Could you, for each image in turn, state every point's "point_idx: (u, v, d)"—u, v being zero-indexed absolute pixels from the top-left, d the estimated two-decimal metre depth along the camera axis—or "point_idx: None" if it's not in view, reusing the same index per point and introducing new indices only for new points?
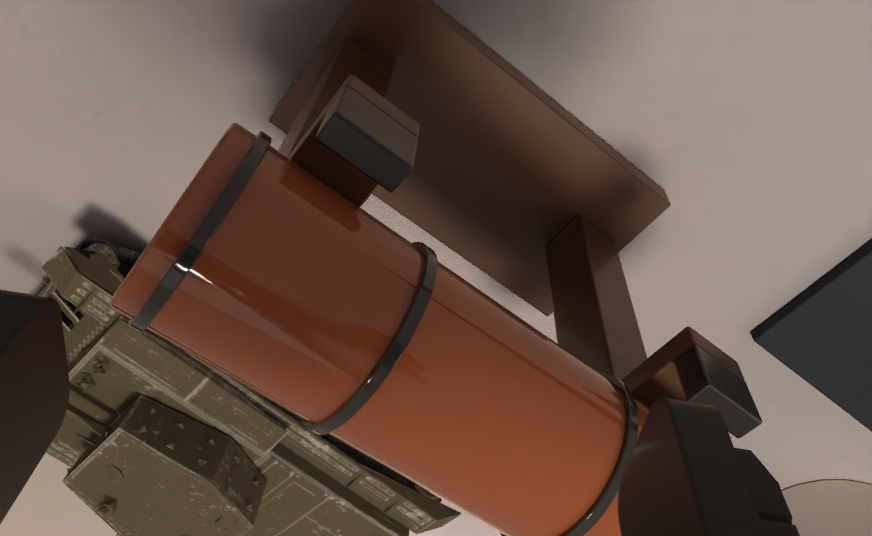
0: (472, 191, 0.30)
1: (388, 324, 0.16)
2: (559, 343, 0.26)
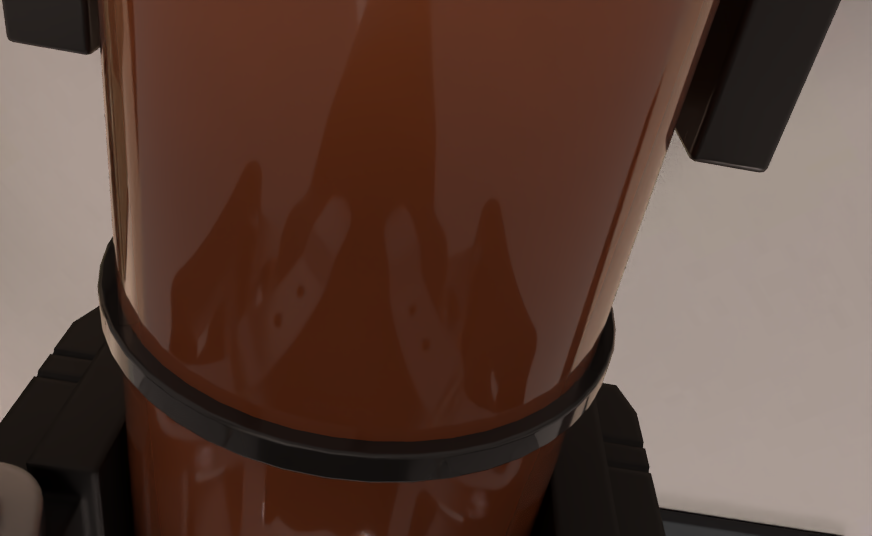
0: None
1: (553, 386, 0.06)
2: None
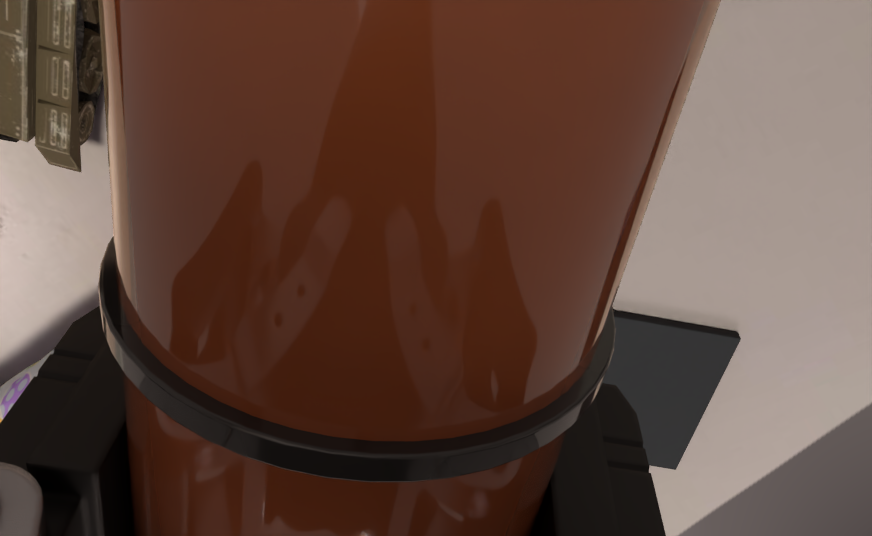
0: None
1: (553, 386, 0.06)
2: None
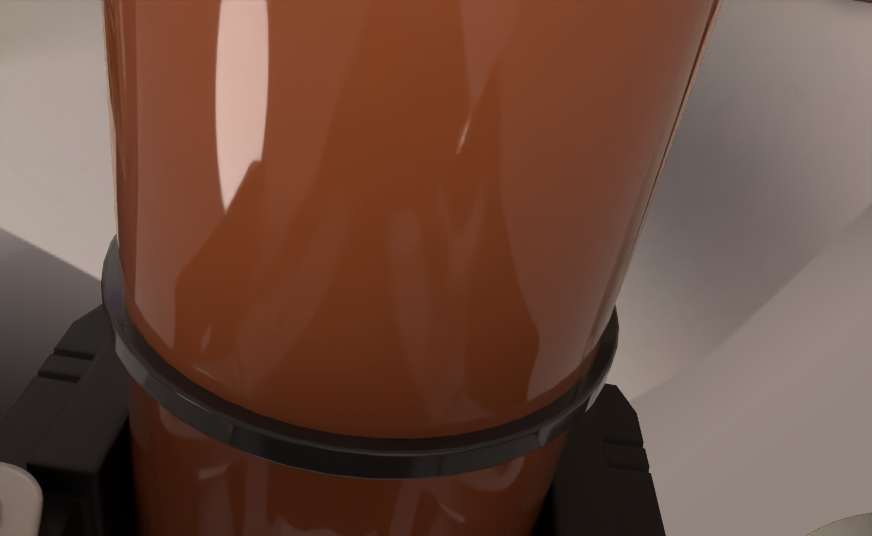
0: None
1: (556, 383, 0.06)
2: None
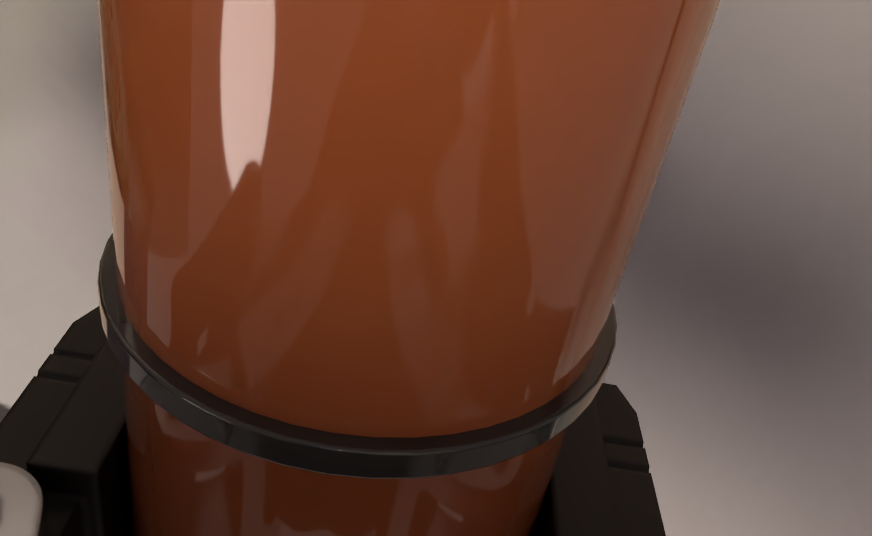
0: None
1: (554, 382, 0.06)
2: None
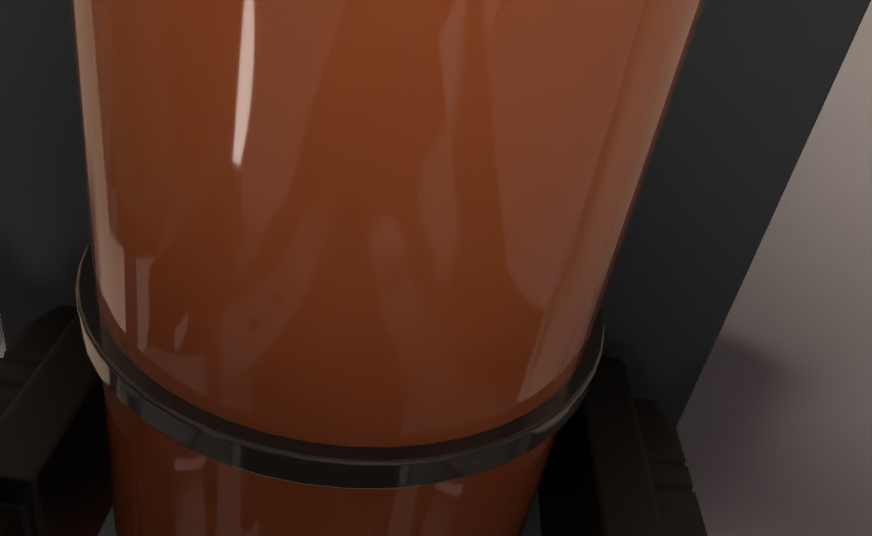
0: None
1: (537, 390, 0.06)
2: None
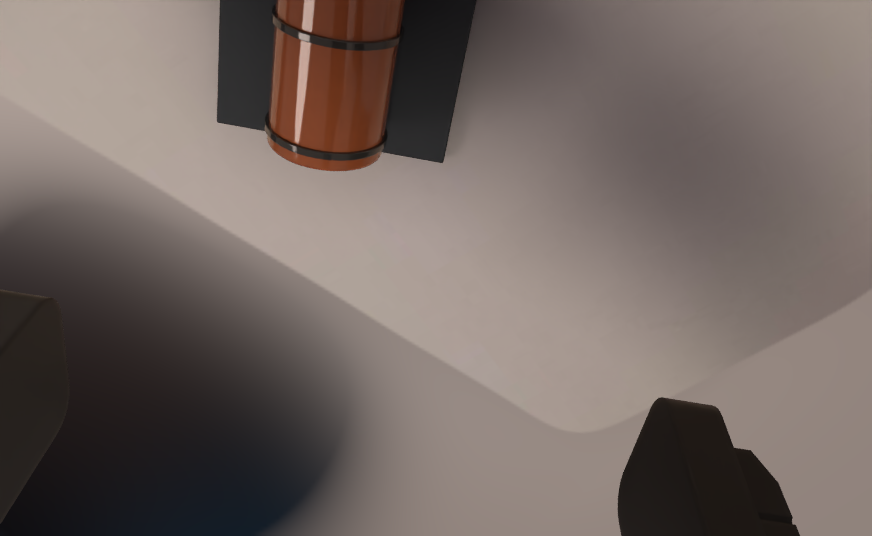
0: None
1: None
2: None
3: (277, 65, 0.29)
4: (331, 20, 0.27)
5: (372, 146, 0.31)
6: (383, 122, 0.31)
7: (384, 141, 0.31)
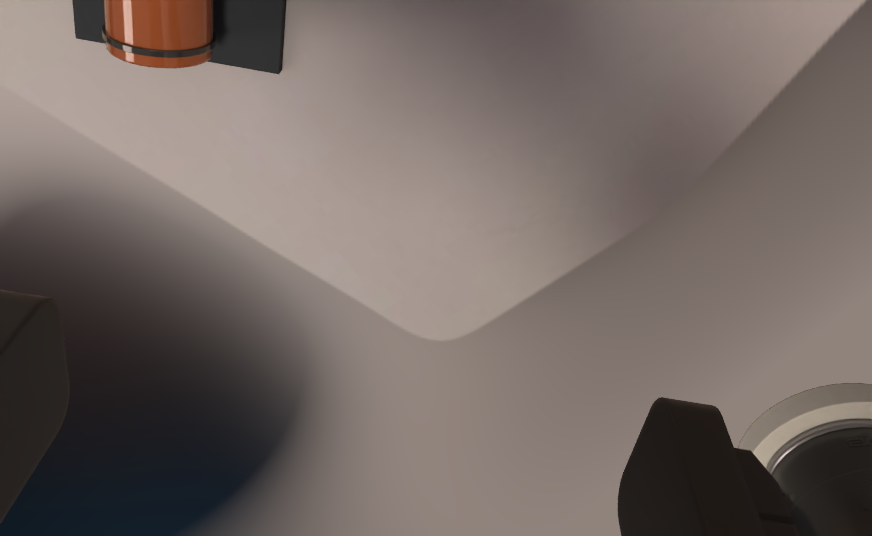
0: None
1: None
2: None
3: None
4: None
5: (195, 47, 0.35)
6: (205, 26, 0.35)
7: (209, 44, 0.35)
